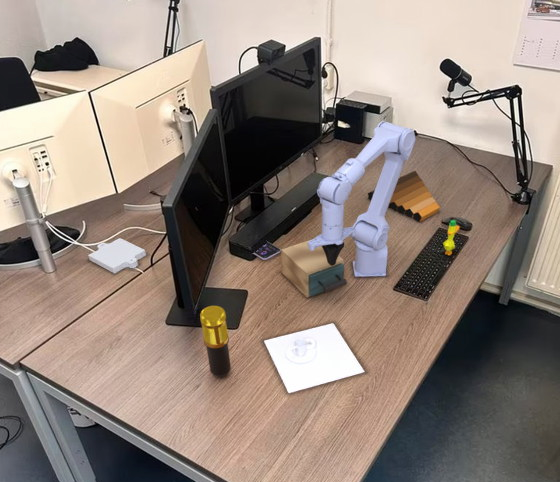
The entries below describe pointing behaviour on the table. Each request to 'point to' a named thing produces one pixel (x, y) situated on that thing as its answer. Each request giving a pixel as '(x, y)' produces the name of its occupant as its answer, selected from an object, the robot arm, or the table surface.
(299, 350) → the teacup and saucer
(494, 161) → the table surface
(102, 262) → the mounting plate
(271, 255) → the smartphone
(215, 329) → the gold capped bottle
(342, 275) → the drawer
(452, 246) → the toy figure
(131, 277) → the table surface
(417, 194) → the pan flute
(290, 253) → the cabinet
